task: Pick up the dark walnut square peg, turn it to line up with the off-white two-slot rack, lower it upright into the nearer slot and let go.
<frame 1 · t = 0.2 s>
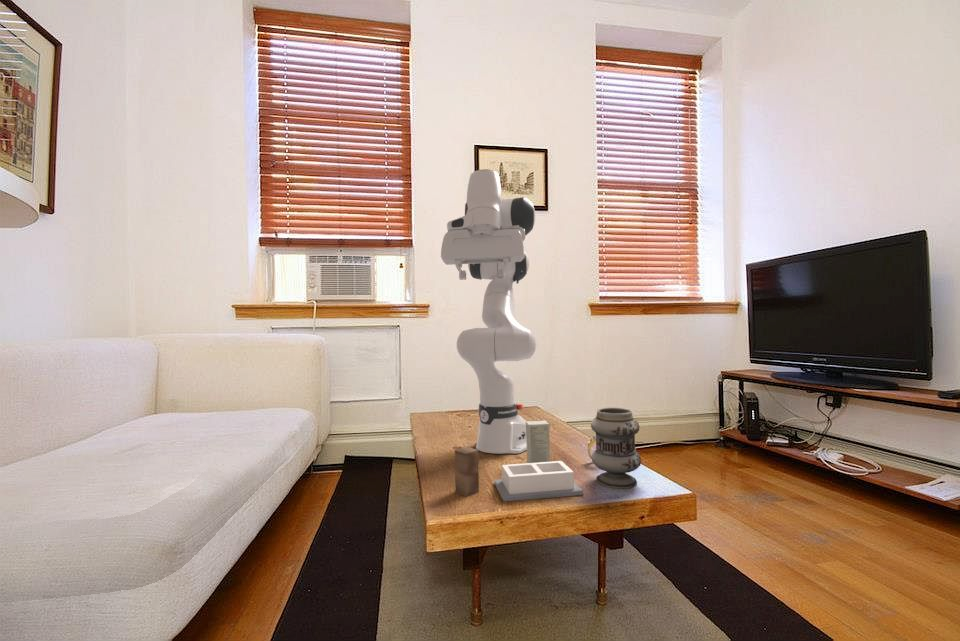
hand: (482, 278, 102), 51 cm above the table, tool tilted 20°, fingers open, 8 cm apart
apothecary jar: (616, 481, 108), on the table
slot rack: (537, 489, 104), on the table
ring: (598, 462, 123), on the table
walnut peg: (467, 491, 103), on the table
skincare box: (538, 465, 121), on the table
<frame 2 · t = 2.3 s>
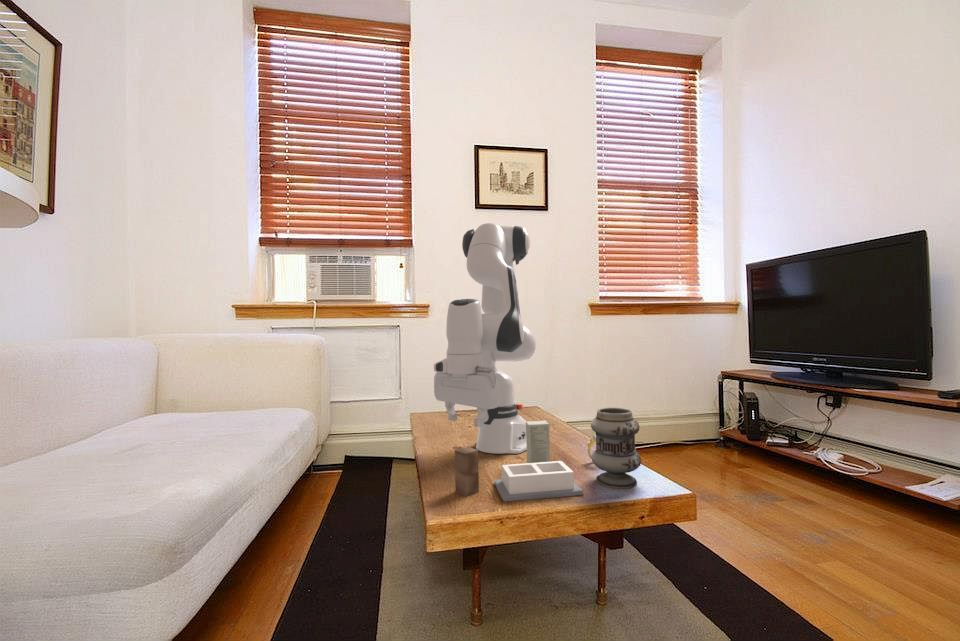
hand: (465, 423, 103), 17 cm above the table, tool pointing down, fingers open, 8 cm apart
nothing on the table moved.
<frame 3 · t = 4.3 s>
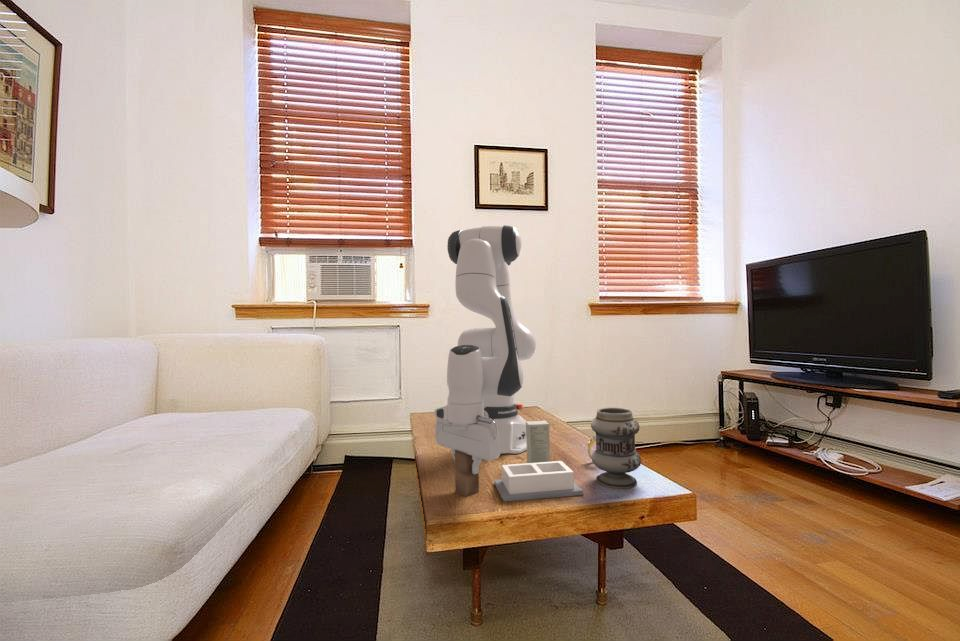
hand: (466, 470, 103), 5 cm above the table, tool pointing down, fingers closed on walnut peg, 4 cm apart
walnut peg: (467, 491, 103), on the table, touching gripper
everything else where it was.
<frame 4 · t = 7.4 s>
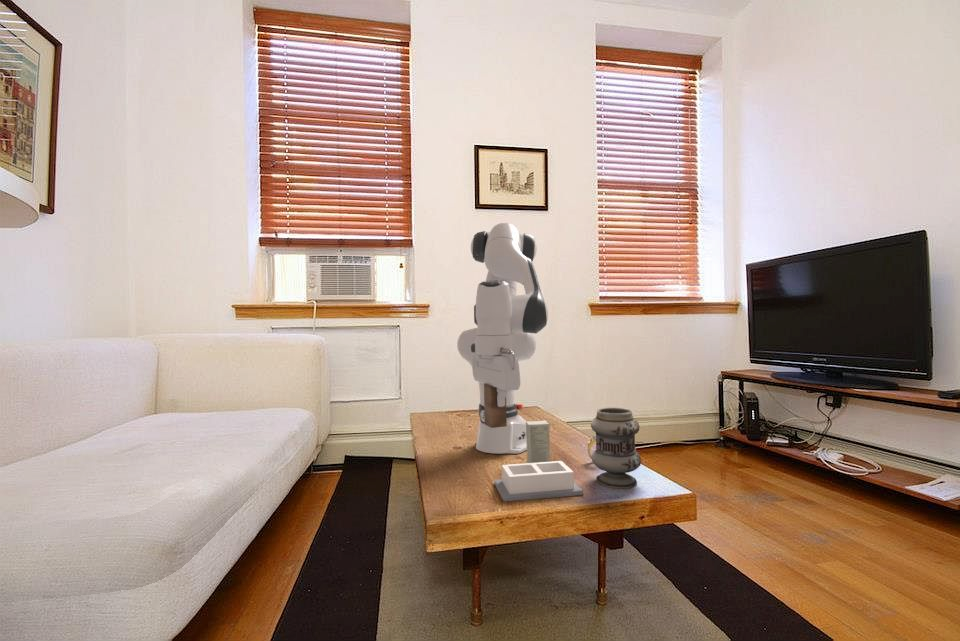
hand: (495, 404, 103), 21 cm above the table, tool pointing down, fingers closed on walnut peg, 4 cm apart
walnut peg: (495, 425, 103), point 16 cm above the table, touching gripper
everything else where it was.
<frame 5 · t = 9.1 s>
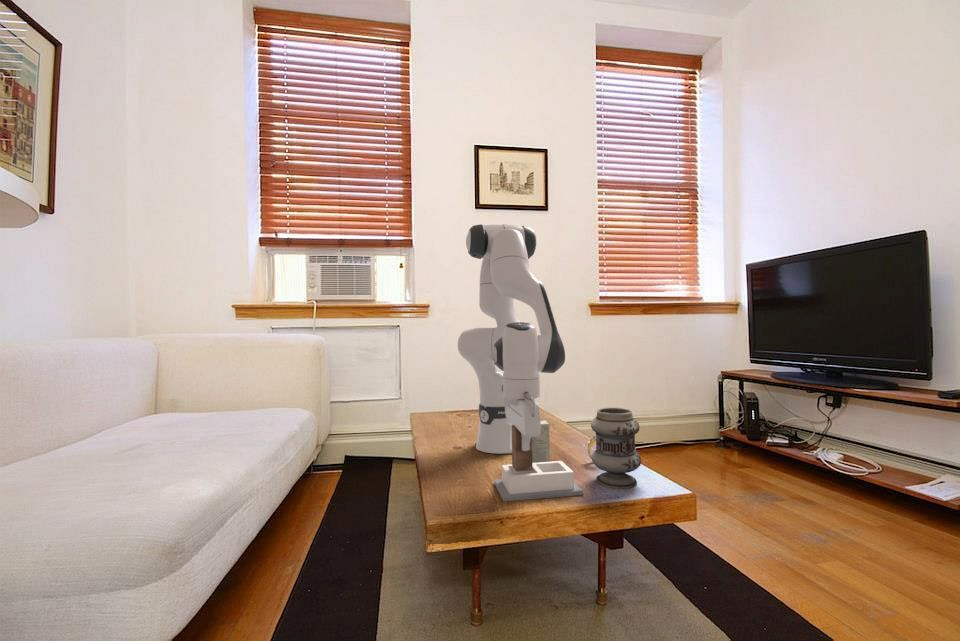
hand: (522, 446, 103), 11 cm above the table, tool pointing down, fingers closed on walnut peg, 4 cm apart
walnut peg: (522, 468, 103), point 5 cm above the table, touching gripper
everything else where it was.
when the fingers open (7 cm above the table, at t = 10.5 s): walnut peg stays where it is, resting on slot rack.
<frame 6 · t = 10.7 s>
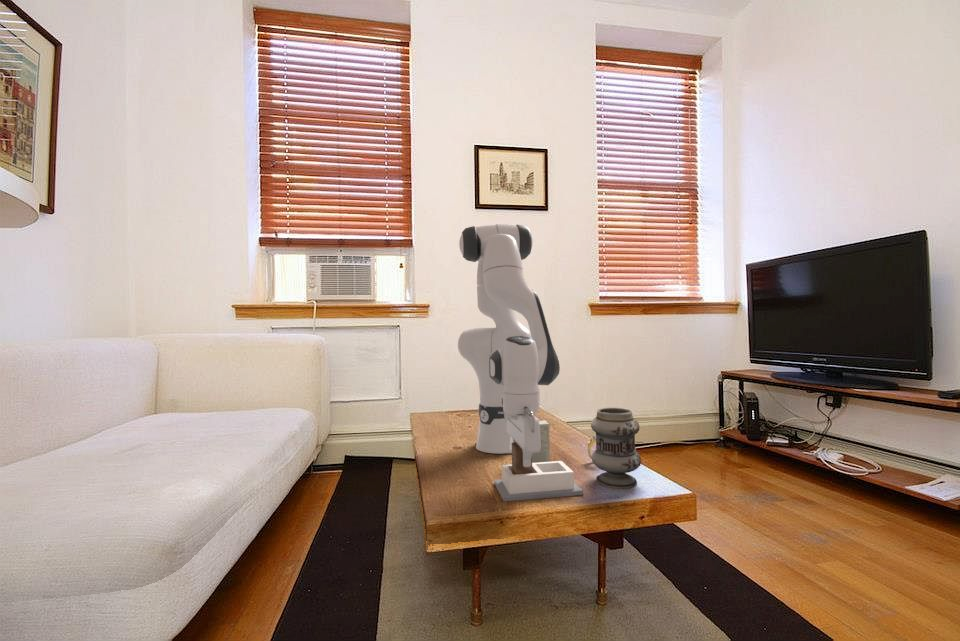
hand: (522, 460, 103), 7 cm above the table, tool pointing down, fingers open, 6 cm apart
walnut peg: (522, 485, 103), point 1 cm above the table, touching slot rack
everything else where it was.
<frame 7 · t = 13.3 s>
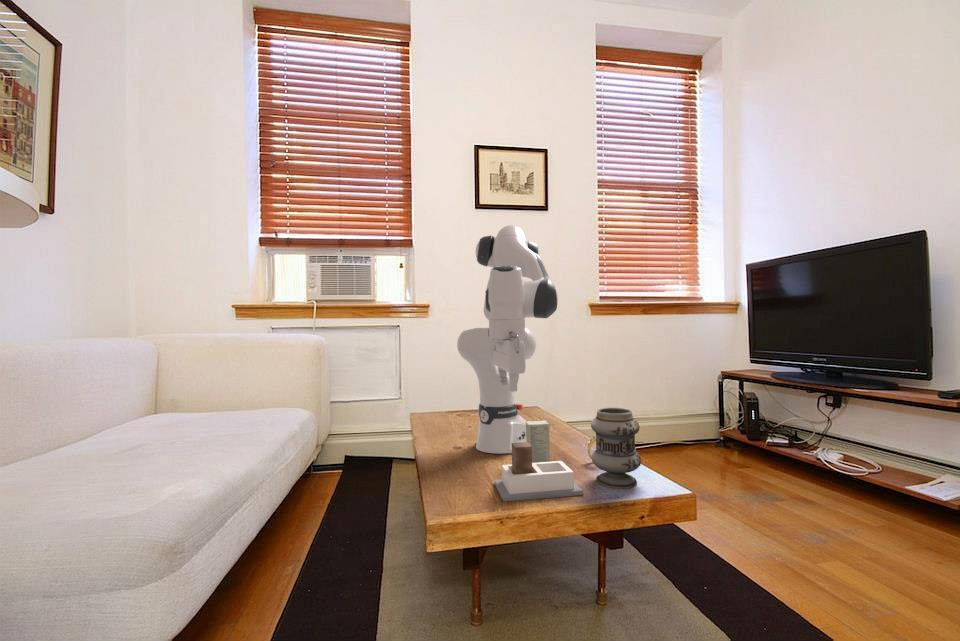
hand: (508, 387, 105), 25 cm above the table, tool pointing down, fingers open, 8 cm apart
nothing on the table moved.
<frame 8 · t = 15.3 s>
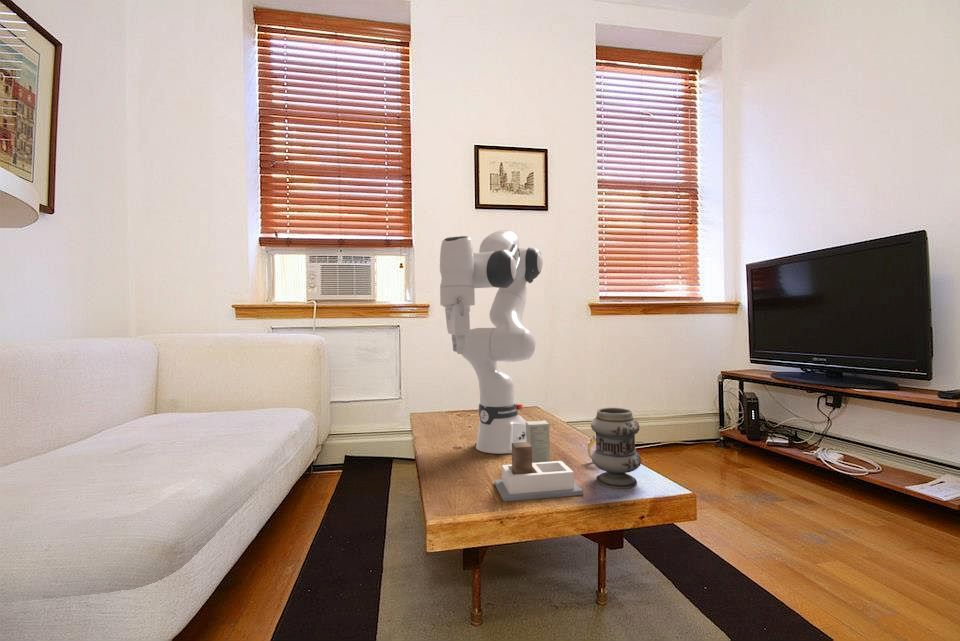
hand: (458, 352, 110), 33 cm above the table, tool pointing down, fingers open, 8 cm apart
nothing on the table moved.
at the end: walnut peg 0.1 cm from the target spot on the slot rack, point 1.0 cm above the slot rack's base; walnut peg tilted 0°; the gripper is holding nothing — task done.
